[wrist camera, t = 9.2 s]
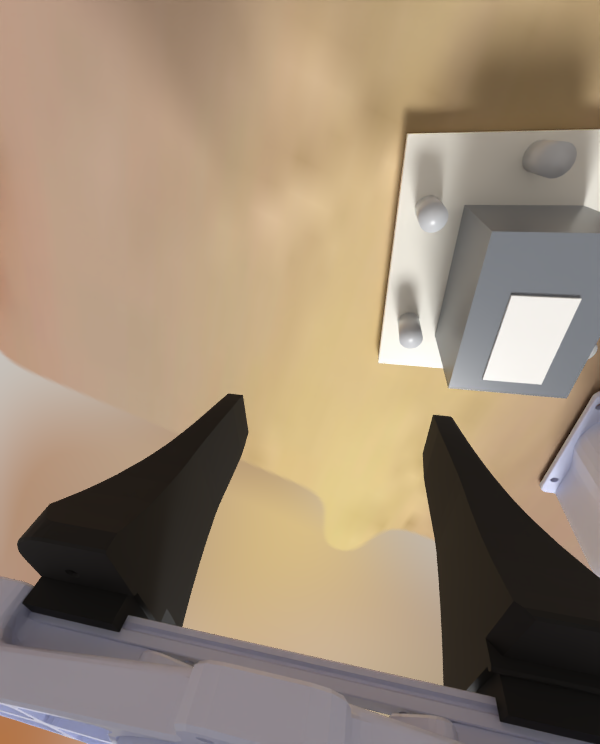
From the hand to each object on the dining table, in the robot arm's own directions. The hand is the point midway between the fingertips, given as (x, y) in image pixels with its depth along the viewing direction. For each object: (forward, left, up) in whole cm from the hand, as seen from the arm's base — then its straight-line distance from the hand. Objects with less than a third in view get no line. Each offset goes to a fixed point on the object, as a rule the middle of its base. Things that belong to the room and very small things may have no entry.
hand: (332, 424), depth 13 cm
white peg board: (+3, -8, -10) cm, 13 cm away
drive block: (+3, -8, -9) cm, 12 cm away
